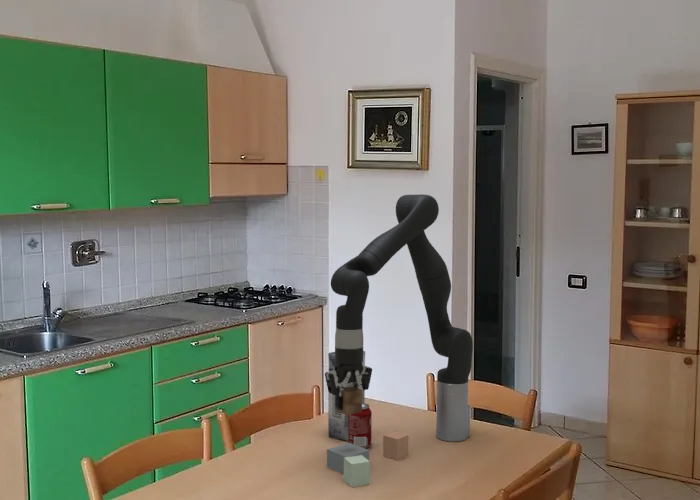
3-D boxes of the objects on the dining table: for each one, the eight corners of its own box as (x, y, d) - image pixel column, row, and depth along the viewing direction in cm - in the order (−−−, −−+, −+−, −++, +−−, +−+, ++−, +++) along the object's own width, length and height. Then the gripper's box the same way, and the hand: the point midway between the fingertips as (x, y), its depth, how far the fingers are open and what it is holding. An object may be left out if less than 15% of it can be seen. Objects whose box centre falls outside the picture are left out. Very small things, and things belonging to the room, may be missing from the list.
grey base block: (348, 460, 216) (349, 442, 215) (369, 468, 210) (369, 450, 210) (326, 467, 211) (326, 449, 210) (346, 475, 205) (347, 457, 204)
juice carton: (367, 433, 238) (368, 345, 236) (349, 443, 229) (350, 352, 227) (343, 428, 243) (344, 342, 241) (324, 437, 234) (324, 348, 232)
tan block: (394, 451, 223) (394, 431, 222) (408, 456, 219) (408, 435, 219) (383, 456, 219) (383, 435, 218) (397, 460, 216) (397, 439, 215)
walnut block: (351, 407, 212) (351, 385, 212) (361, 412, 208) (362, 389, 208) (335, 410, 210) (335, 388, 209) (346, 415, 205) (346, 392, 205)
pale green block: (361, 477, 203) (361, 455, 203) (369, 484, 199) (369, 461, 198) (343, 480, 201) (343, 457, 201) (351, 487, 196) (351, 464, 196)
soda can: (368, 451, 223) (369, 409, 222) (345, 449, 224) (346, 408, 223) (373, 443, 229) (373, 403, 228) (350, 441, 231) (350, 401, 230)
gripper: (363, 339, 214) (362, 400, 216) (318, 345, 207) (318, 408, 208) (379, 344, 208) (378, 407, 210) (333, 350, 200) (333, 415, 202)
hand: (348, 407), depth 209 cm, fingers closed on walnut block, 5 cm apart
